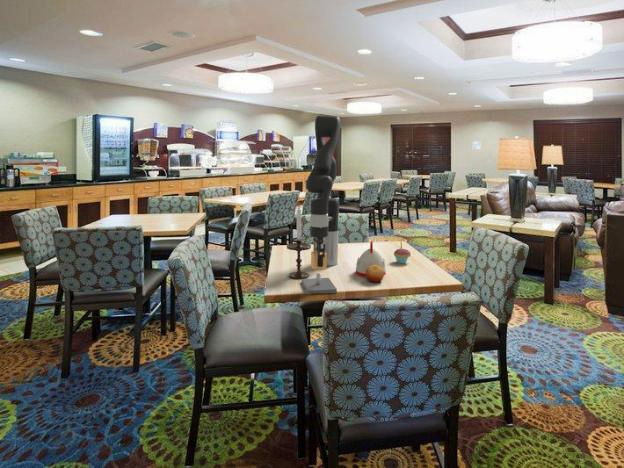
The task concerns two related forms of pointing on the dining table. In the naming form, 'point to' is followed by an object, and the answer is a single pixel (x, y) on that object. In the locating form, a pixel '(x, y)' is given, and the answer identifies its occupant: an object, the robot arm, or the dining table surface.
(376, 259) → the kitchen timer
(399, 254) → the cupcake
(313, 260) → the peach colored cube
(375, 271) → the fruit
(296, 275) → the candlestick
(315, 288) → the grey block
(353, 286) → the dining table surface
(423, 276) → the dining table surface
